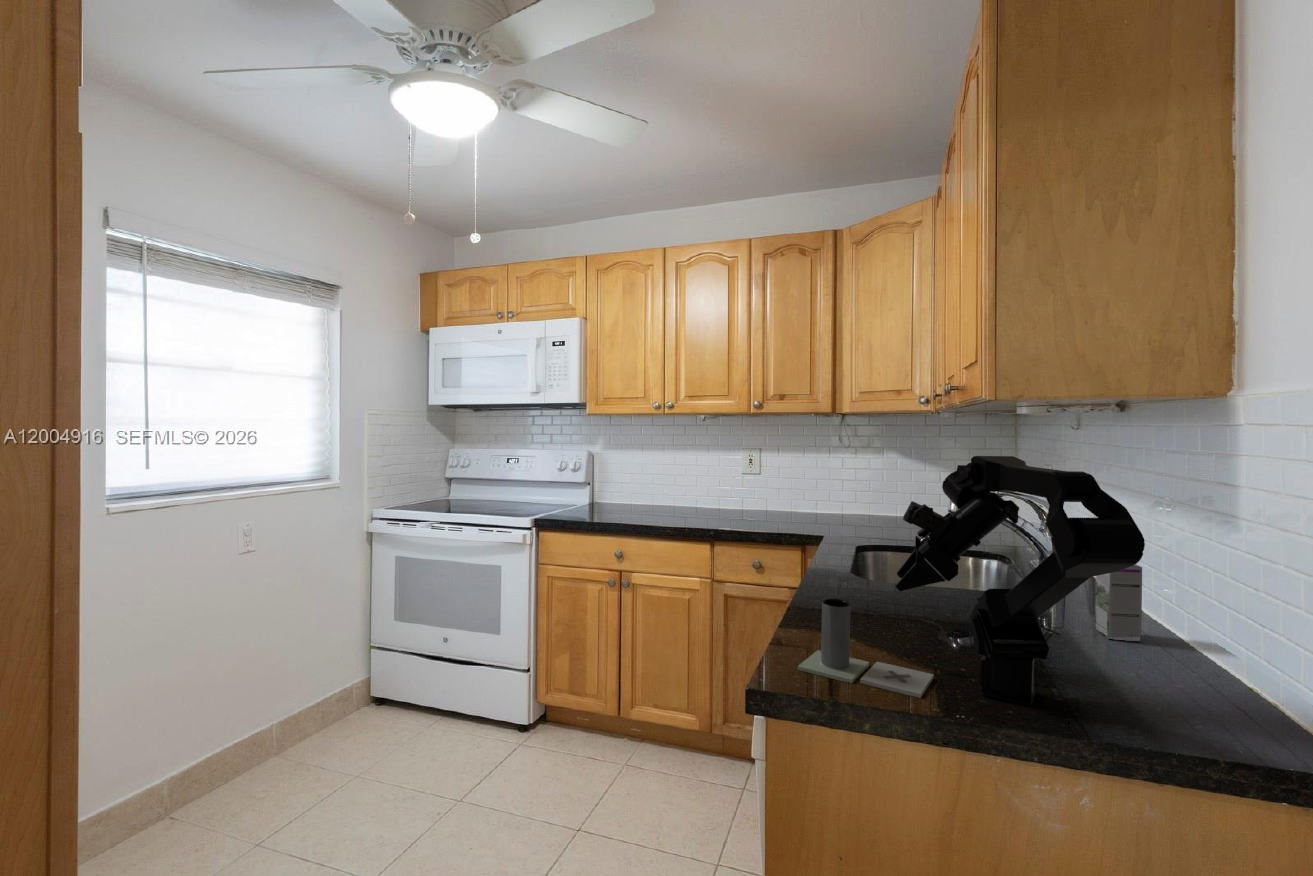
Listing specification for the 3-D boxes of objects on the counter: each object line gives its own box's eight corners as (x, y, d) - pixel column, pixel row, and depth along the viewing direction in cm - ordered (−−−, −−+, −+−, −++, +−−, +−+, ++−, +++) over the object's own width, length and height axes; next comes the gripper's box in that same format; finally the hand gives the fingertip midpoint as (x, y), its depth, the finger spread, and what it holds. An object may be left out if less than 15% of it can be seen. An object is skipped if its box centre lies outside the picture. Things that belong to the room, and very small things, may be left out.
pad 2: (933, 678, 101) (933, 673, 101) (920, 698, 94) (920, 693, 94) (876, 665, 106) (876, 660, 106) (860, 683, 99) (860, 678, 99)
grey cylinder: (831, 656, 108) (832, 597, 108) (854, 664, 105) (856, 603, 104) (815, 662, 105) (816, 601, 105) (838, 671, 102) (840, 608, 102)
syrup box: (1142, 643, 118) (1145, 566, 118) (1107, 640, 120) (1109, 564, 119) (1126, 632, 124) (1128, 559, 124) (1092, 630, 125) (1095, 558, 125)
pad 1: (869, 665, 106) (869, 661, 106) (851, 683, 99) (851, 679, 99) (817, 653, 111) (817, 649, 111) (797, 669, 104) (797, 665, 104)
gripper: (932, 481, 114) (867, 537, 119) (936, 492, 97) (860, 557, 101) (979, 528, 112) (911, 583, 116) (992, 548, 94) (911, 611, 99)
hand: (898, 582), depth 108 cm, fingers open, 9 cm apart
